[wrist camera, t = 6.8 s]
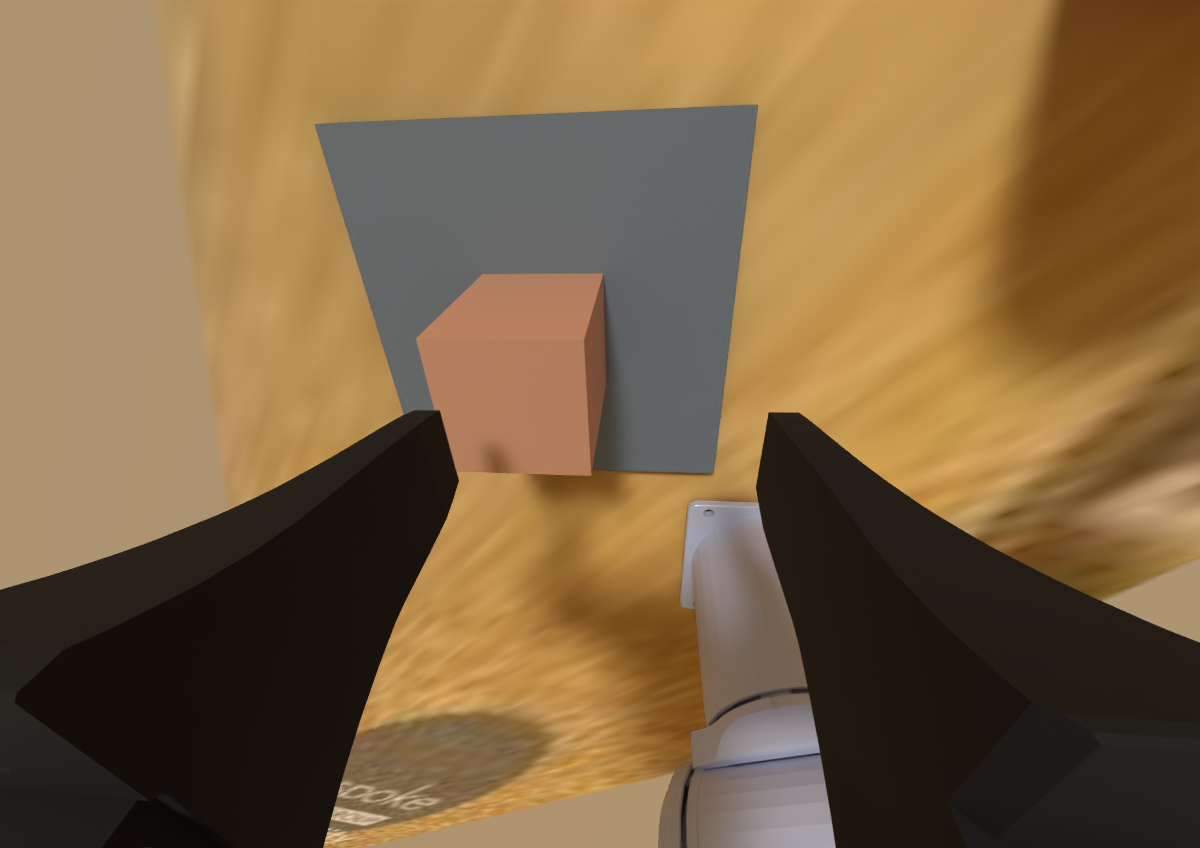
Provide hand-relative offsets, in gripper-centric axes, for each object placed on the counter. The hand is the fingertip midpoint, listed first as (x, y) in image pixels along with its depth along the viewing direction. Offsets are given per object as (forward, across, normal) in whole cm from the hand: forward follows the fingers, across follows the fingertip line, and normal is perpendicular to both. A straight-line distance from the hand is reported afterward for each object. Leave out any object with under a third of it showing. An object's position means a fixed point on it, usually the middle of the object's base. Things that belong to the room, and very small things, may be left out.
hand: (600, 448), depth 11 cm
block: (+9, +3, +1) cm, 9 cm away
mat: (+9, +3, +1) cm, 10 cm away
